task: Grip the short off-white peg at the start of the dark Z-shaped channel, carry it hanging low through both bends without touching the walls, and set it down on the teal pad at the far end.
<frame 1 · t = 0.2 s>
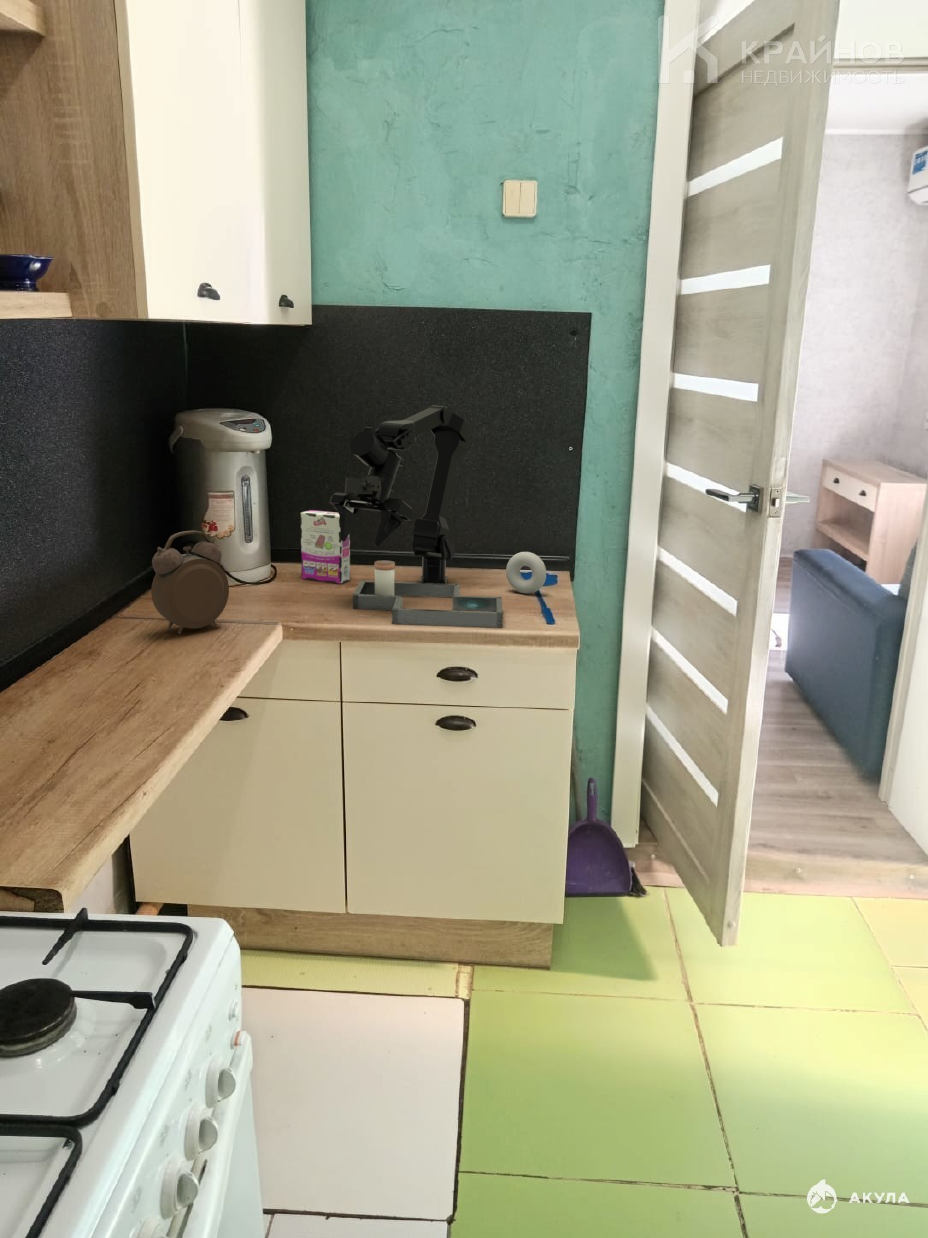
hand: (359, 543, 209), 15 cm above the worktop, tool tilted 30°, fingers open, 9 cm apart
channel: (427, 609, 216), on the worktop
peg: (384, 601, 220), on the worktop
donut: (524, 594, 232), on the worktop
candy bar box: (325, 580, 238), on the worktop
alarm clock: (191, 630, 196), on the worktop
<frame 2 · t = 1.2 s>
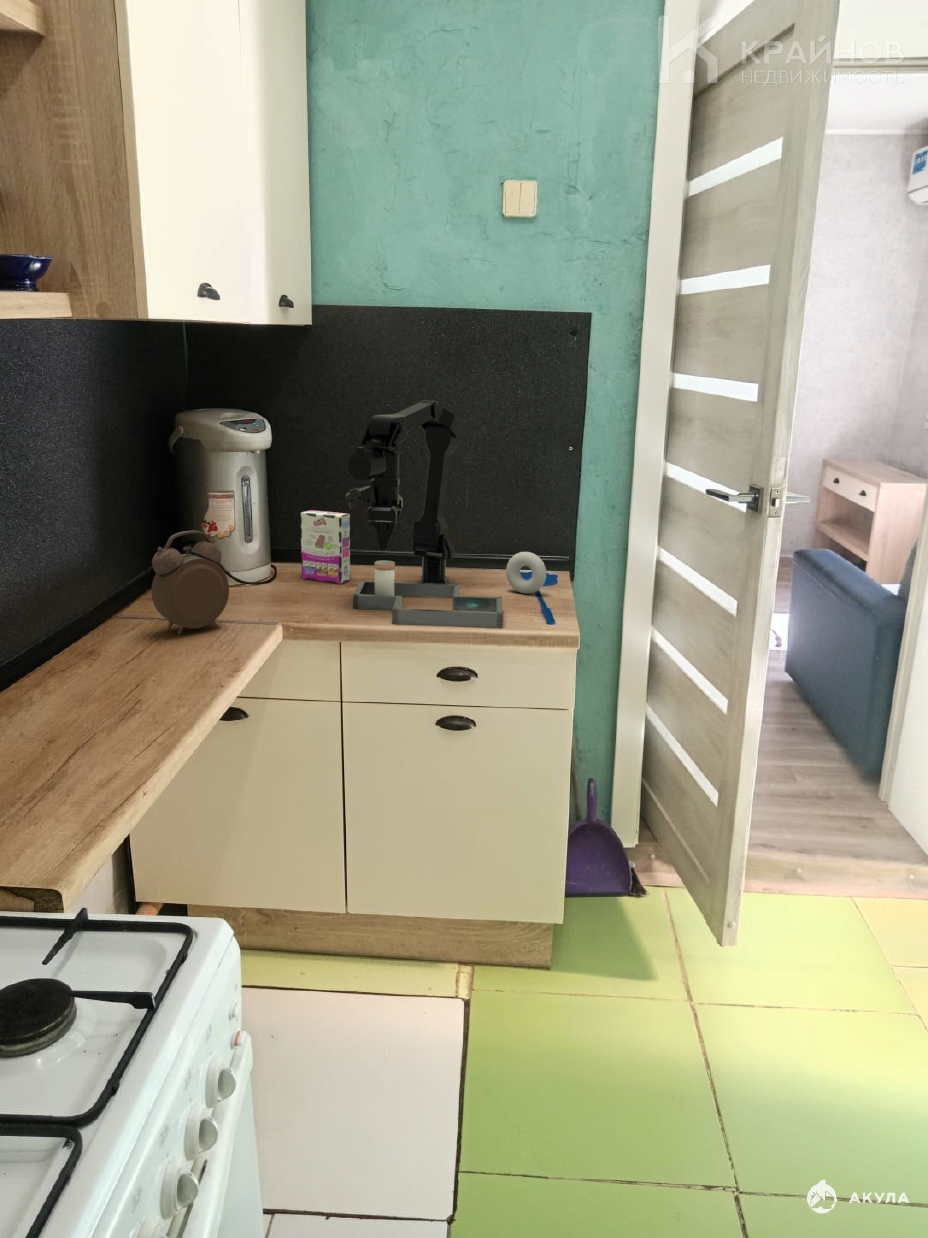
hand: (384, 545, 217), 13 cm above the worktop, tool pointing down, fingers open, 9 cm apart
nothing on the worktop moved.
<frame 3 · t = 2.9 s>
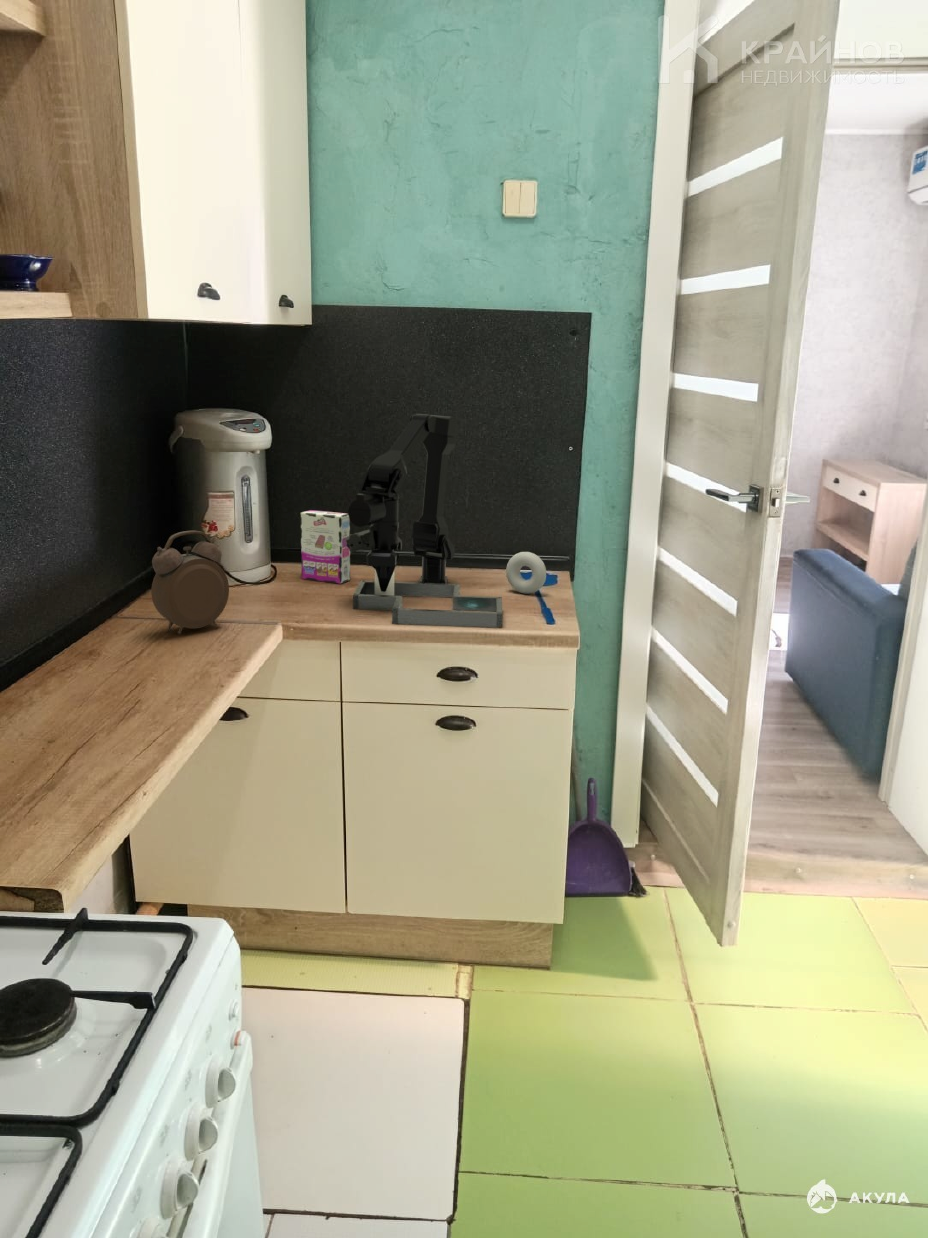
hand: (384, 588, 220), 3 cm above the worktop, tool pointing down, fingers closed on peg, 4 cm apart
peg: (384, 601, 220), on the worktop, touching gripper
everything else where it was.
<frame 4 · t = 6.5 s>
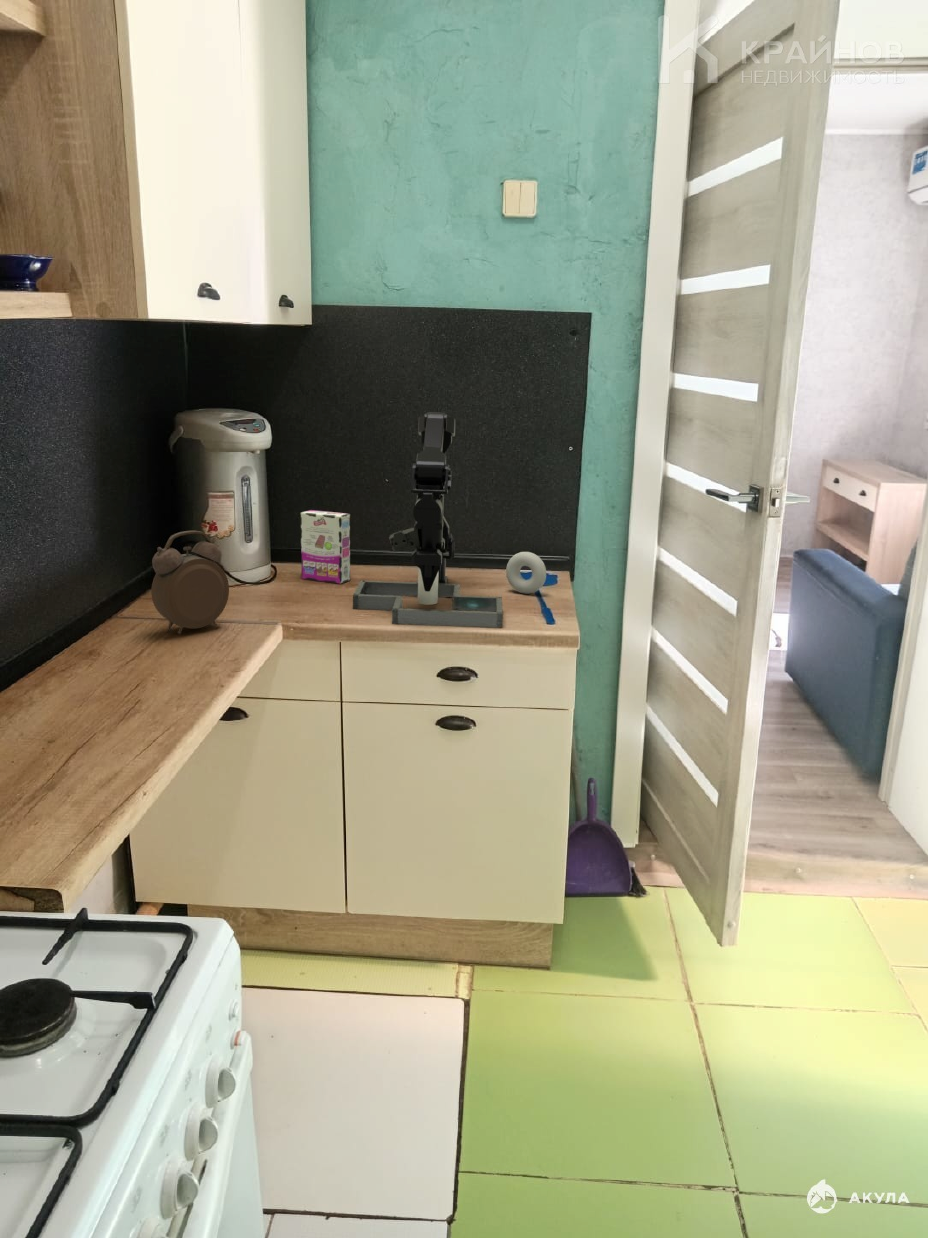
hand: (427, 588, 214), 5 cm above the worktop, tool pointing down, fingers closed on peg, 4 cm apart
peg: (427, 601, 215), point 2 cm above the worktop, touching gripper
everything else where it was.
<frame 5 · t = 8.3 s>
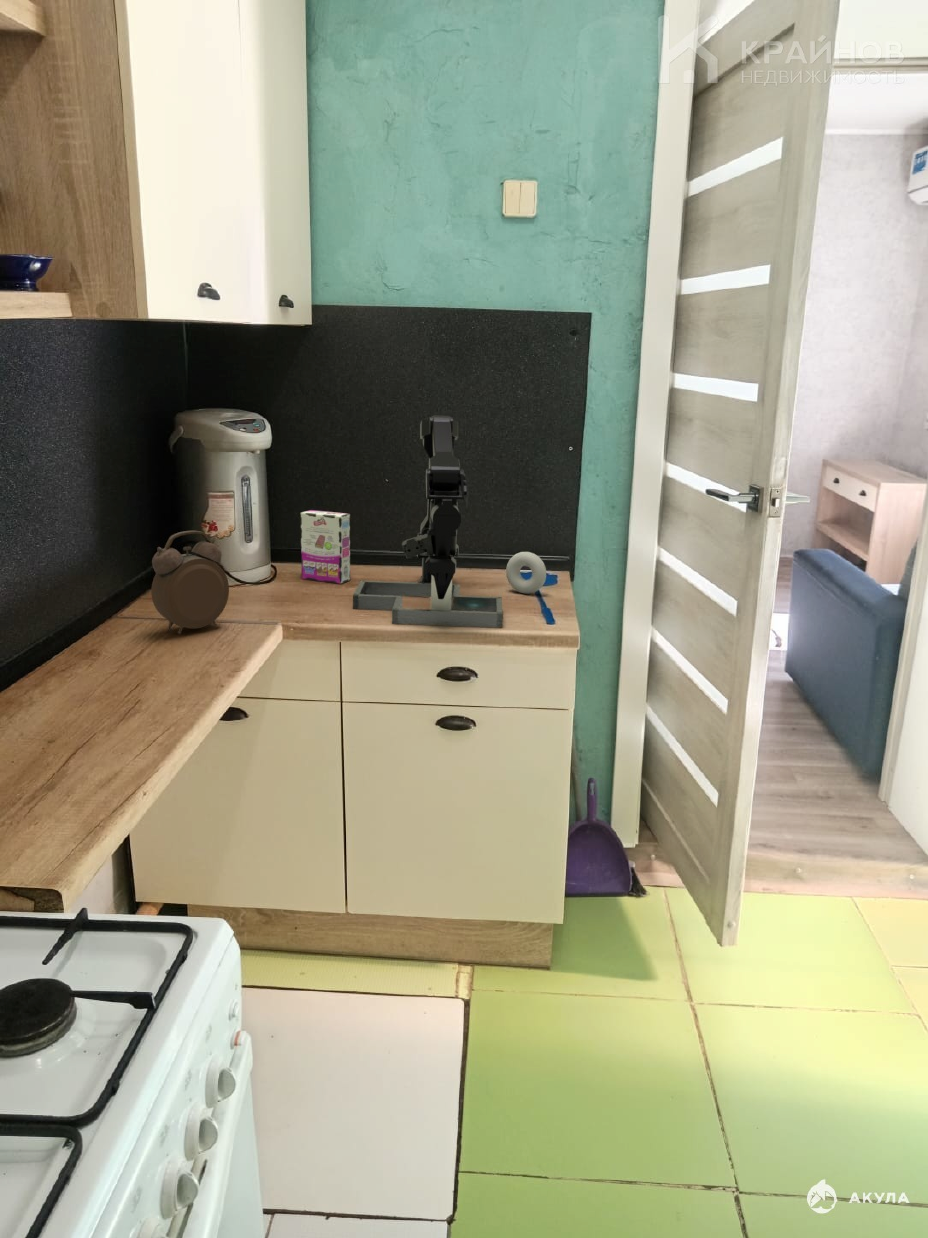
hand: (441, 596, 209), 4 cm above the worktop, tool pointing down, fingers closed on peg, 4 cm apart
peg: (440, 609, 210), point 1 cm above the worktop, touching gripper
everything else where it was.
when the fingers open (4 cm above the worktop, at t = 10.2 s): peg stays where it is, resting on channel.
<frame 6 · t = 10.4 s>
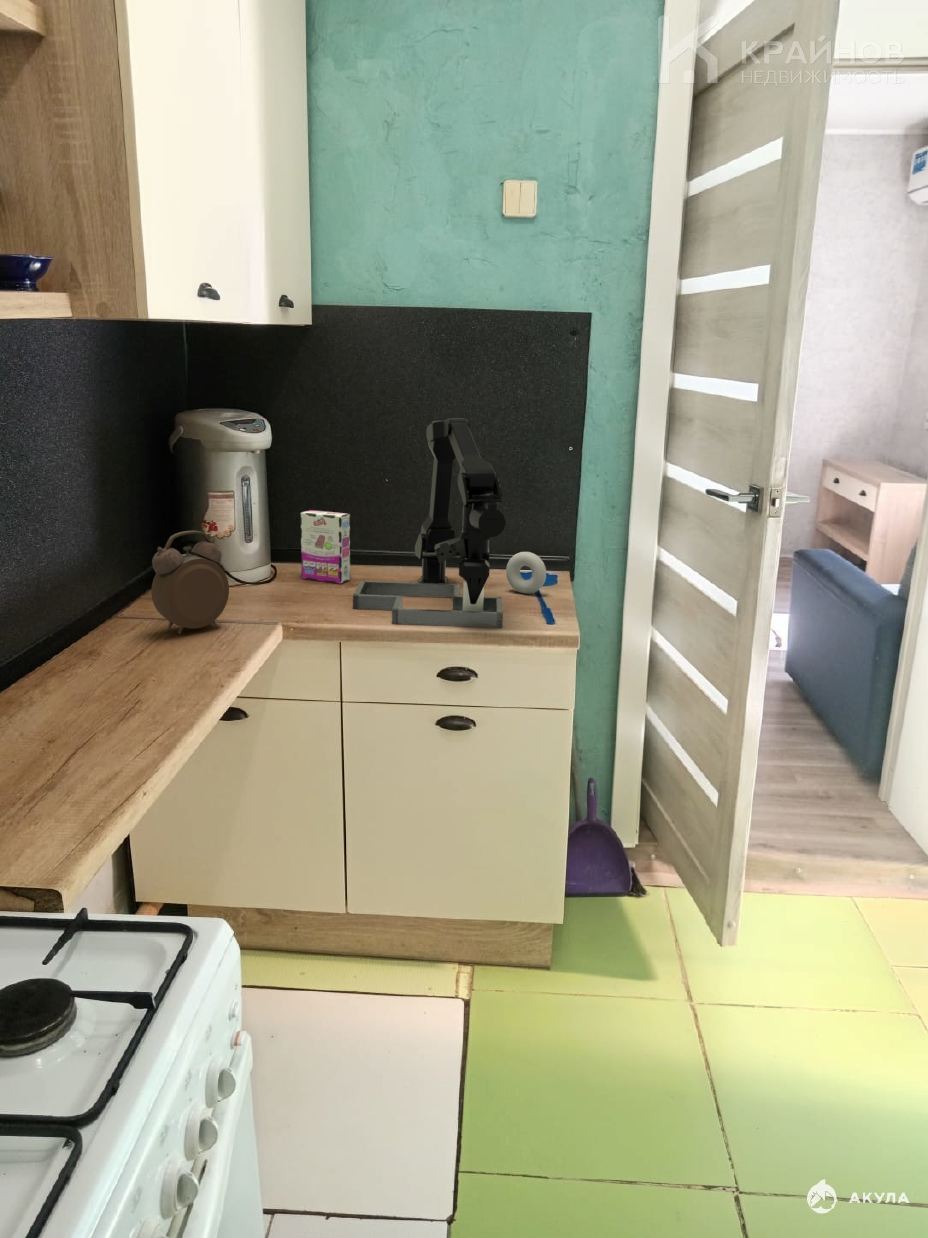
hand: (473, 599, 210), 4 cm above the worktop, tool pointing down, fingers open, 7 cm apart
peg: (472, 616, 211), resting on channel
everything else where it was.
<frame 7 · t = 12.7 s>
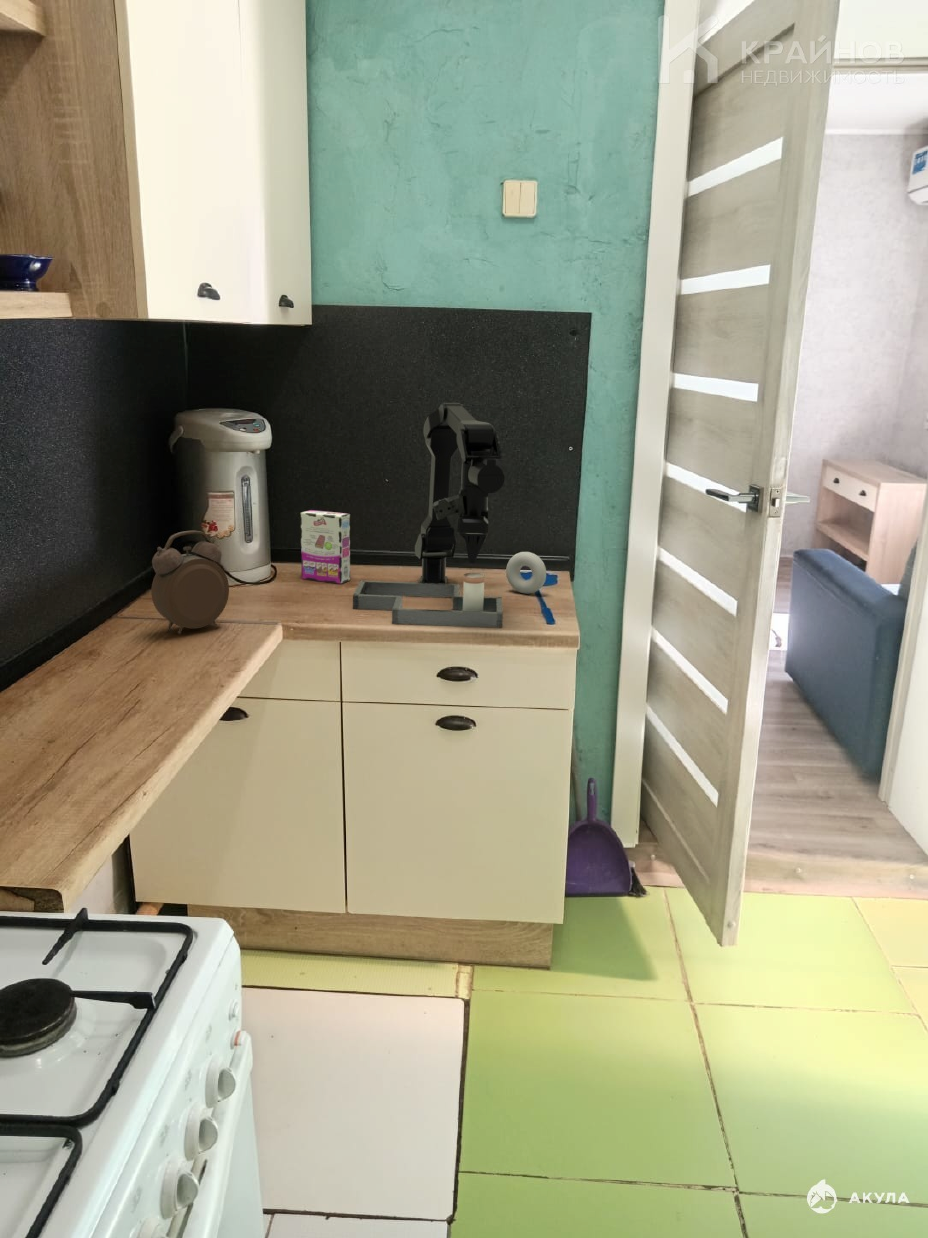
hand: (471, 557, 209), 13 cm above the worktop, tool pointing down, fingers open, 9 cm apart
nothing on the worktop moved.
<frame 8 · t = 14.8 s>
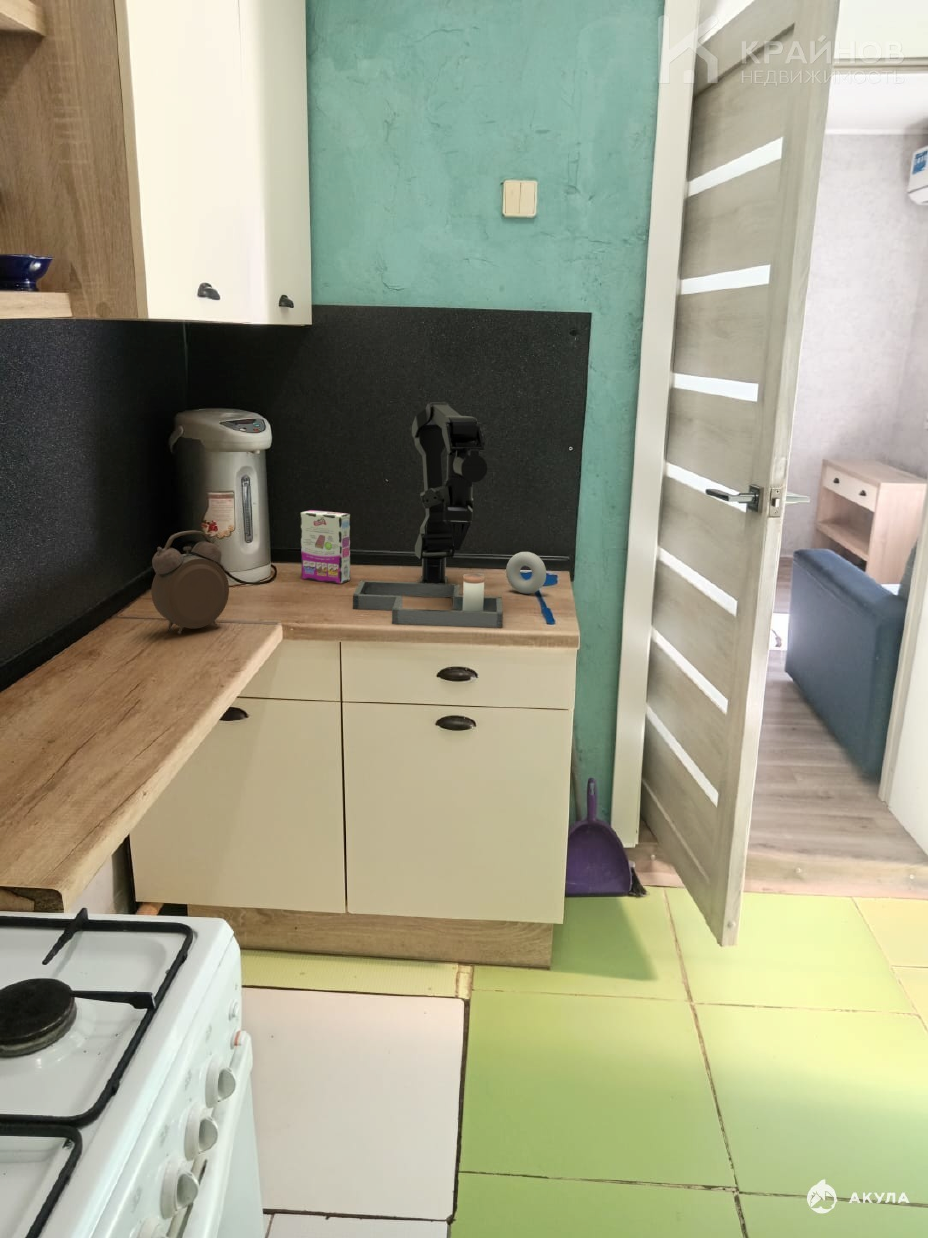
hand: (457, 545, 218), 13 cm above the worktop, tool pointing down, fingers open, 9 cm apart
nothing on the worktop moved.
at the end: peg tilted 0°; the gripper is holding nothing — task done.
